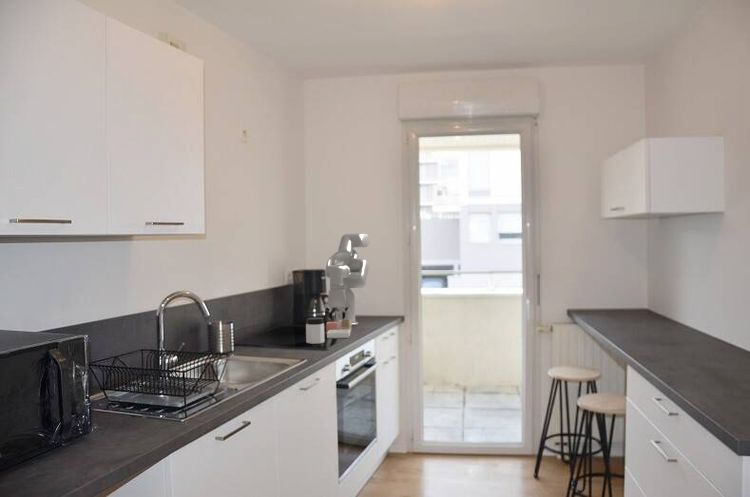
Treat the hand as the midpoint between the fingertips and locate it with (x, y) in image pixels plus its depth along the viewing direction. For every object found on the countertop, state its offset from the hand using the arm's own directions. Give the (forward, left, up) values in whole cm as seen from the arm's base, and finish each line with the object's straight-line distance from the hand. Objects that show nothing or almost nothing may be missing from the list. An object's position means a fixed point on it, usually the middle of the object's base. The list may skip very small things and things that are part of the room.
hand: (337, 318), depth 341 cm
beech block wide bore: (+7, +5, -6) cm, 11 cm away
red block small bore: (+14, -1, -6) cm, 16 cm away
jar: (+44, -7, -6) cm, 45 cm away
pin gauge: (0, 0, -6) cm, 6 cm away
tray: (+26, +3, -6) cm, 27 cm away
